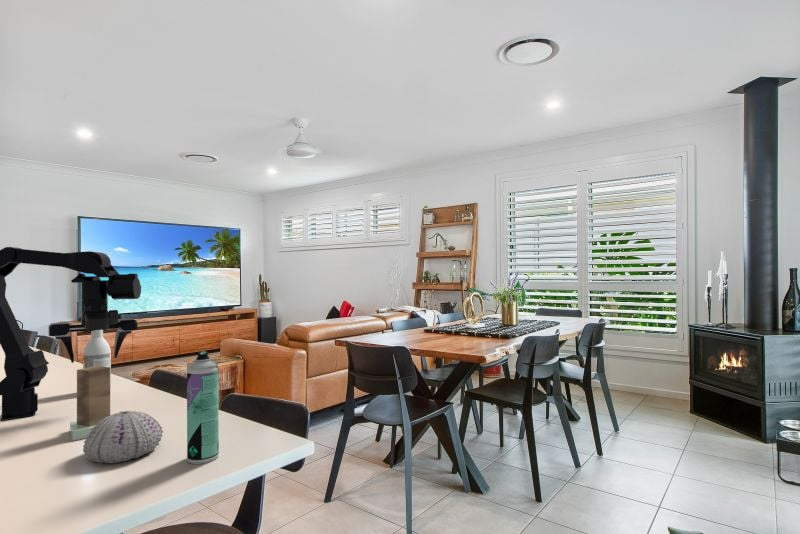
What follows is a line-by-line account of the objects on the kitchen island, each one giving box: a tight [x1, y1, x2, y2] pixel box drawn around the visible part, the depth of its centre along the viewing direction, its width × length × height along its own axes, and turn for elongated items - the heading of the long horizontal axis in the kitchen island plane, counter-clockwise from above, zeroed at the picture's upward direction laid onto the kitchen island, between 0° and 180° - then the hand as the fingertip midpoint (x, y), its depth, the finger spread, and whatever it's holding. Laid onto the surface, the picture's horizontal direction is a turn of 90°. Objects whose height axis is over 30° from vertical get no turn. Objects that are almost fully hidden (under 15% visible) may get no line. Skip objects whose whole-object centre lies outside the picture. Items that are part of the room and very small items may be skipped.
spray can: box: [186, 351, 220, 465], centre depth 85 cm, size 6×6×20 cm
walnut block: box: [76, 366, 111, 427], centre depth 101 cm, size 4×4×12 cm
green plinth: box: [69, 420, 96, 442], centre depth 100 cm, size 8×8×2 cm
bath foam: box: [82, 330, 112, 390], centre depth 136 cm, size 7×7×20 cm
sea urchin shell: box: [82, 410, 164, 464], centre depth 88 cm, size 13×14×8 cm
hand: (94, 360), depth 116 cm, fingers open, 9 cm apart
